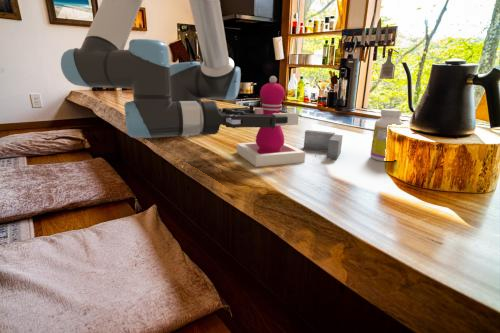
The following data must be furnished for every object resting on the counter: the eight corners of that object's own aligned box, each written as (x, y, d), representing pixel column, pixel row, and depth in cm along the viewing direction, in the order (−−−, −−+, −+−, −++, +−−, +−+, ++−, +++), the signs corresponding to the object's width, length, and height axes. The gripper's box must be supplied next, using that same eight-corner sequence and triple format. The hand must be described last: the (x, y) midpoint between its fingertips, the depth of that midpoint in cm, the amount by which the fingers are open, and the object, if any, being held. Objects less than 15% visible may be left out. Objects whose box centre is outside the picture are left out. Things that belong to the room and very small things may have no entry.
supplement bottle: (376, 154, 84) (383, 107, 80) (401, 159, 80) (410, 110, 76) (365, 158, 79) (372, 109, 76) (391, 164, 75) (400, 111, 71)
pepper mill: (281, 162, 74) (287, 76, 68) (252, 159, 75) (255, 75, 69) (284, 154, 80) (289, 76, 74) (257, 152, 82) (260, 75, 76)
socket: (236, 152, 81) (236, 143, 80) (279, 149, 86) (280, 140, 85) (255, 166, 70) (256, 156, 69) (304, 161, 74) (305, 152, 74)
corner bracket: (300, 147, 89) (301, 130, 88) (321, 145, 92) (323, 129, 91) (331, 160, 76) (333, 141, 75) (354, 158, 79) (356, 139, 78)
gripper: (189, 126, 79) (267, 123, 87) (212, 145, 59) (309, 139, 67) (188, 96, 77) (268, 96, 85) (212, 107, 57) (313, 105, 65)
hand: (286, 115), depth 76 cm, fingers open, 10 cm apart
